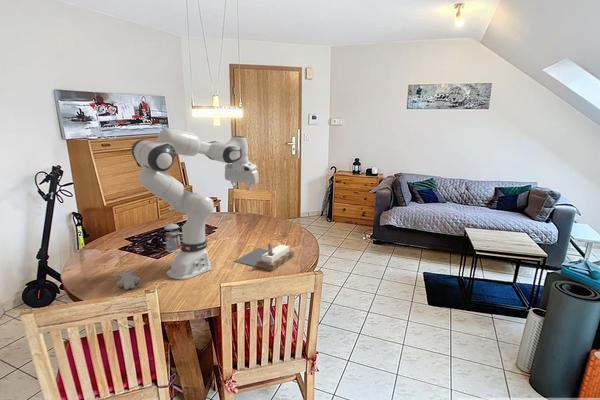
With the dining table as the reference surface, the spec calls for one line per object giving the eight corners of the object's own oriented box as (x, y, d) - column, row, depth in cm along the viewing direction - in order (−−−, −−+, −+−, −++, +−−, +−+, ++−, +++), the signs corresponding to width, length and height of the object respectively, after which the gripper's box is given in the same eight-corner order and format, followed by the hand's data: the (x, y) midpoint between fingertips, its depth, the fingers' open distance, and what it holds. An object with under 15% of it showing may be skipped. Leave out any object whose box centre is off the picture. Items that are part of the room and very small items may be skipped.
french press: (174, 245, 208) (171, 205, 202) (188, 248, 202) (184, 207, 196) (161, 250, 199) (156, 208, 194) (174, 254, 194) (170, 211, 188)
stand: (273, 270, 172) (272, 248, 169) (256, 267, 176) (255, 245, 173) (294, 255, 191) (294, 235, 188) (279, 252, 195) (278, 232, 192)
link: (271, 263, 174) (271, 257, 173) (261, 260, 176) (261, 255, 176) (289, 251, 189) (289, 246, 188) (280, 249, 192) (280, 244, 191)
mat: (254, 266, 177) (254, 265, 177) (234, 261, 183) (234, 261, 183) (276, 252, 196) (276, 251, 196) (258, 248, 202) (258, 247, 202)
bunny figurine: (117, 285, 149) (114, 269, 161) (118, 295, 150) (115, 278, 162) (140, 280, 154) (136, 264, 166) (141, 290, 155) (137, 274, 167)
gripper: (221, 164, 187) (223, 188, 192) (253, 169, 179) (254, 194, 184) (228, 161, 192) (229, 185, 197) (259, 166, 184) (260, 190, 189)
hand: (242, 189), depth 190 cm, fingers open, 8 cm apart
